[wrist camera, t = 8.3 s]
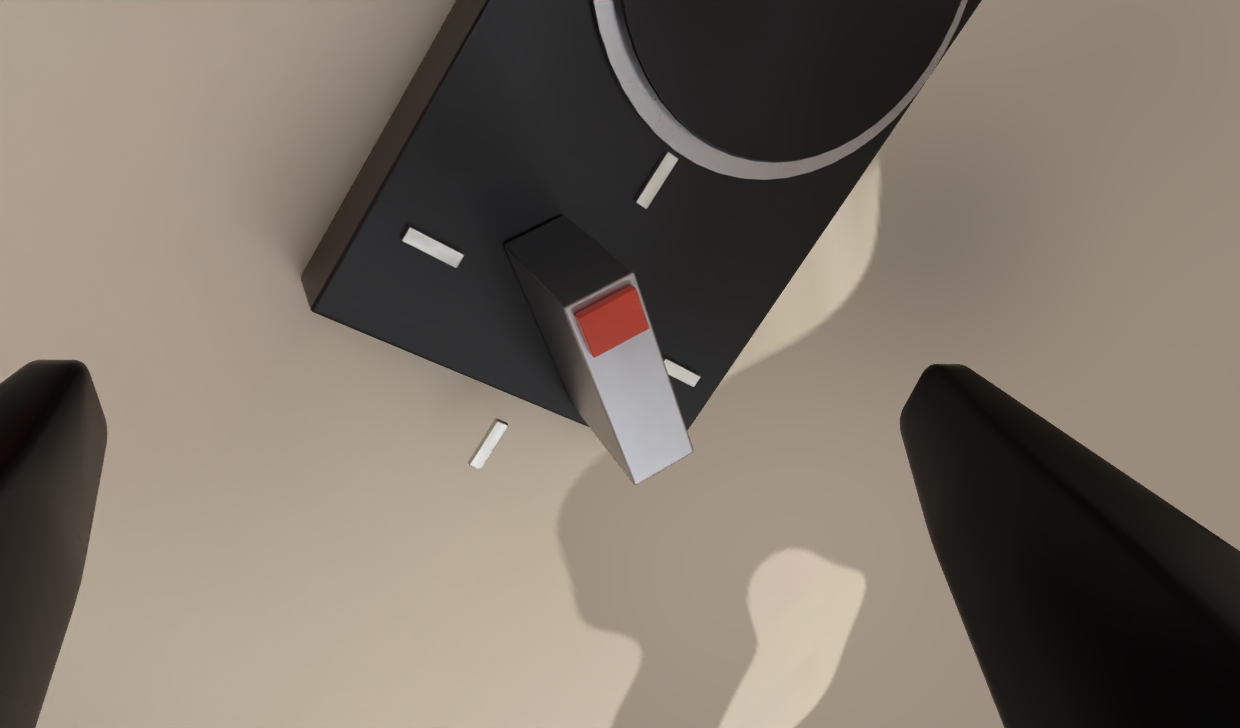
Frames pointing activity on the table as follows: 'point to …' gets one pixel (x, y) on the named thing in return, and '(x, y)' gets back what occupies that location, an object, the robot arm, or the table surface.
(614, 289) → the grey and red block
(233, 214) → the table surface
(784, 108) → the hob plate
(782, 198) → the hob
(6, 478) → the robot arm
